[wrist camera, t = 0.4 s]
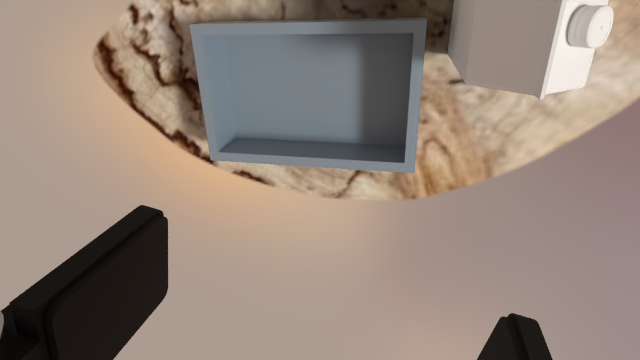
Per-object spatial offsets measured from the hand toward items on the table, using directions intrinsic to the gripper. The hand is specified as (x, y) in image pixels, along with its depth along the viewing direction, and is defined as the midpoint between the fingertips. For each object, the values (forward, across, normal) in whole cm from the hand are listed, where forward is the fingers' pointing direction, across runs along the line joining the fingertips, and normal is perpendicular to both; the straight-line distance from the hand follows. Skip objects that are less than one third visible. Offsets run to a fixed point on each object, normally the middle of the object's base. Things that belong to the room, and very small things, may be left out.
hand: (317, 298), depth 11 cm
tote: (+34, +7, +3) cm, 35 cm away
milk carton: (+34, -8, -8) cm, 36 cm away
